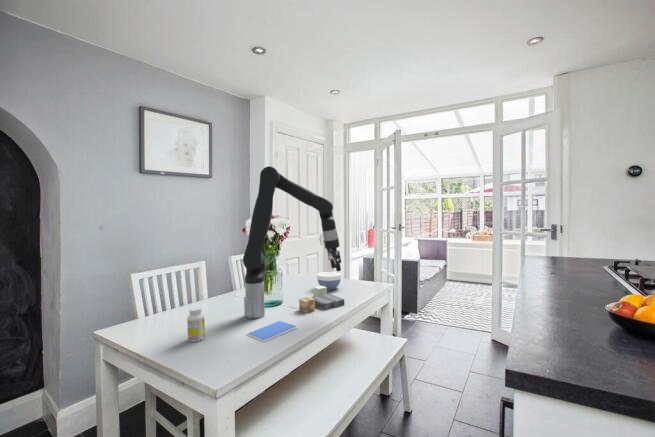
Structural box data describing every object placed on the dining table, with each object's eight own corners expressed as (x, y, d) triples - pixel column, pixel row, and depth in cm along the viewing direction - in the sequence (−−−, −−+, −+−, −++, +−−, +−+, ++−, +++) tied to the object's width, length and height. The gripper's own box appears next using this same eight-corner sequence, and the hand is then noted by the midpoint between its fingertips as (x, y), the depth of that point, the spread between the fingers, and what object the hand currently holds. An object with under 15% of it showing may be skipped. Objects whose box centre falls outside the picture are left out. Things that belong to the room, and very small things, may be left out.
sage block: (318, 299, 189) (318, 289, 189) (313, 296, 194) (313, 287, 194) (327, 297, 193) (326, 287, 192) (321, 295, 198) (321, 285, 197)
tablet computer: (264, 343, 130) (264, 340, 130) (245, 336, 138) (245, 333, 138) (298, 329, 145) (298, 326, 145) (279, 323, 153) (279, 320, 153)
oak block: (305, 313, 165) (305, 301, 165) (299, 310, 170) (299, 298, 170) (315, 310, 169) (314, 299, 168) (308, 307, 174) (308, 296, 173)
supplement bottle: (200, 334, 140) (199, 305, 139) (208, 338, 135) (207, 308, 135) (185, 339, 134) (183, 309, 134) (193, 343, 130) (191, 312, 130)
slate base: (323, 309, 169) (323, 304, 169) (309, 303, 181) (309, 298, 181) (344, 304, 177) (344, 299, 177) (329, 298, 189) (329, 293, 189)
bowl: (314, 286, 218) (314, 272, 218) (336, 284, 223) (336, 270, 223) (321, 292, 203) (320, 277, 203) (344, 290, 208) (344, 275, 208)
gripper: (320, 239, 170) (325, 268, 172) (327, 241, 157) (333, 273, 158) (333, 236, 172) (338, 265, 174) (342, 238, 159) (347, 270, 160)
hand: (336, 269), depth 166 cm, fingers open, 8 cm apart
